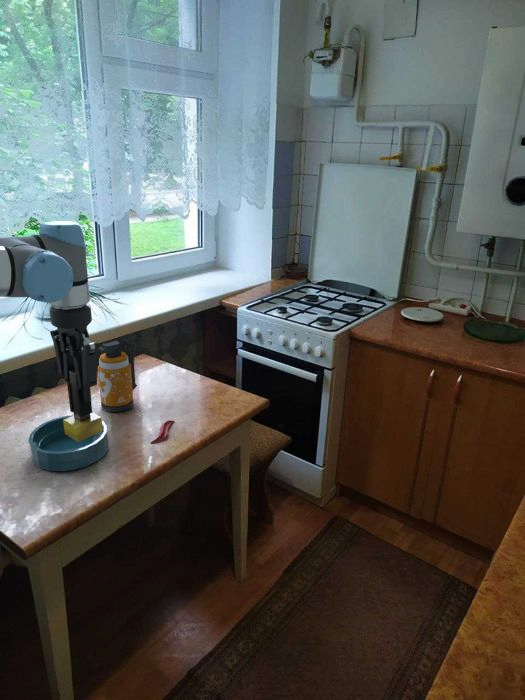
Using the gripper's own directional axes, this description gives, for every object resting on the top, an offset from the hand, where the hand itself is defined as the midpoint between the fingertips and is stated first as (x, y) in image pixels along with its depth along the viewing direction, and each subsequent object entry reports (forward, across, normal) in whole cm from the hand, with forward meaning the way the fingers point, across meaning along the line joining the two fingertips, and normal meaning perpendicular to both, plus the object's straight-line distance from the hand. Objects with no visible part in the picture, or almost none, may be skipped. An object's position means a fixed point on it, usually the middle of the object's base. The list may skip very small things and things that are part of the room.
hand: (81, 411), depth 104 cm
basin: (+18, +13, -4) cm, 23 cm away
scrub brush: (+5, 0, 0) cm, 5 cm away
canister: (+18, +24, -27) cm, 41 cm away
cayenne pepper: (+18, +4, -25) cm, 31 cm away
